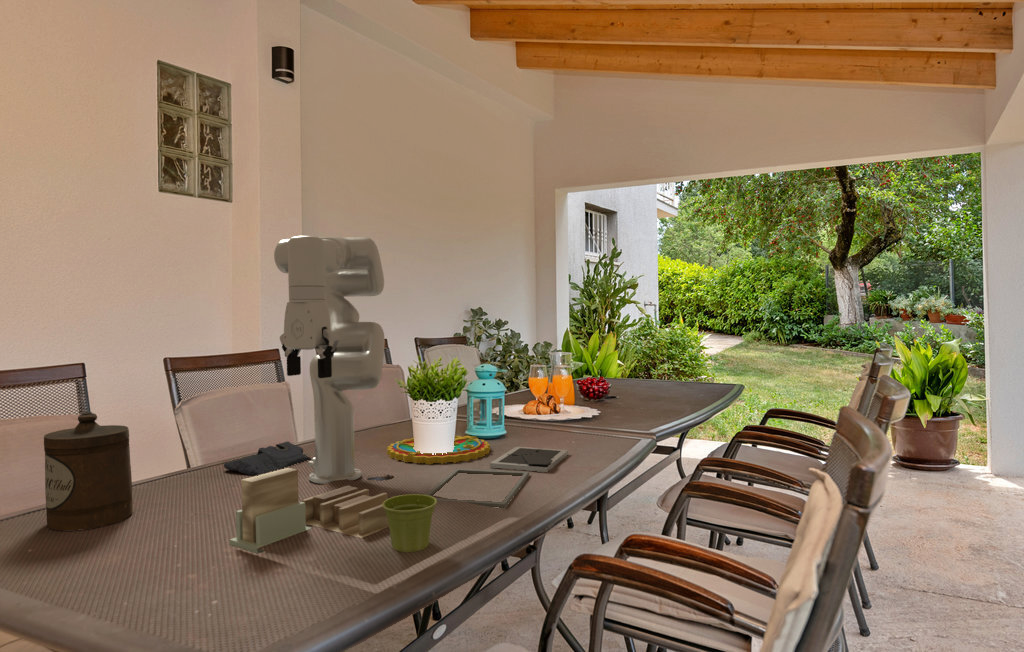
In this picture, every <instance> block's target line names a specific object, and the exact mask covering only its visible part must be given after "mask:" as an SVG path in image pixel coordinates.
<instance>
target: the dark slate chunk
mask: <svg viewBox="0 0 1024 652" xmlns="http://www.w3.org/2000/svg"><path fill="white" fill-rule="evenodd" d="M307 460H310V461H312V458H311V457H310V456H307V454H306V453H305V454H304V448H302V446H299V445H296V444H293V443H292V442H290V441H285V442H281V443H277V444H275V446H272V445H269V446H266V447H259V448H258V450H257V454H252V455H250V456H246V457H244V458H238V459H234V460H231V461H228V462H224V463H223V467H224V469H226V470H229V471H233V472H234V471H236V472H239V473H241V474H245V475H247V474H248V476H257V475H261V474H264V473H267V472H270V471H274V470H277V469H280V470H281V468H284V467H287V468H289V467H288V466H290V467H292V466H291V465H293V466H295V465H294V464H297V463H300V464H302V463H301V462H303V463H305V462H304V461H307ZM307 462H308V461H307ZM297 465H298V464H297Z"/></svg>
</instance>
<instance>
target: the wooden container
mask: <svg viewBox="0 0 1024 652" xmlns="http://www.w3.org/2000/svg"><path fill="white" fill-rule="evenodd" d="M97 419H98V416H97V414H96V413H93V412H92V411H85V412H81V414H79V415H78V416H77V422H78V424H77V425H76V426H75V427H73V428H66V429H61V430H56V431H52V432H49V433H46V434H44V436H43V449H44V473H45V475H44V485H45V487H44V490H45V492H44V493H45V507H46V527H47V528H48V527H49V528H48V529H50V528H51V529H50V530H53V529H55V530H54V531H59V530H76V531H80V530H79V529H85V530H90V529H89V528H92V529H96V528H95V527H97V528H101V527H100V526H102V527H106V526H109V524H110V525H112V523H113V524H116V523H119V522H121V521H123V520H125V519H127V518H128V517H130V516H131V515H133V511H134V510H133V509H134V507H133V505H134V503H133V479H132V477H133V476H132V466H131V451H130V449H131V448H130V430H129V427H128V426H126V425H118V424H116V425H115V424H113V425H112V424H111V425H109V424H108V425H99V423H97V422H96V421H97ZM118 521H119V522H118ZM115 522H116V523H115ZM105 525H106V526H105Z"/></svg>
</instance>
